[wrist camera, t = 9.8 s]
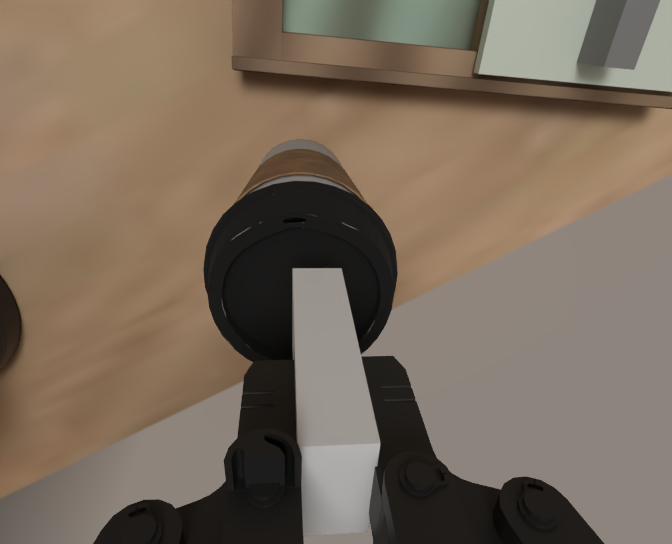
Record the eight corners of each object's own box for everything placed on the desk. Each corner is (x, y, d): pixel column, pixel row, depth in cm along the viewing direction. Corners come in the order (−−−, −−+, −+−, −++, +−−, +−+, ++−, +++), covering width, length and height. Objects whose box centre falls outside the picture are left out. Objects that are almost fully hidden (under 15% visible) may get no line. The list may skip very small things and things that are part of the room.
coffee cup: (362, 114, 29) (414, 196, 16) (363, 235, 33) (405, 380, 20) (229, 121, 28) (169, 211, 15) (247, 243, 33) (212, 394, 20)
